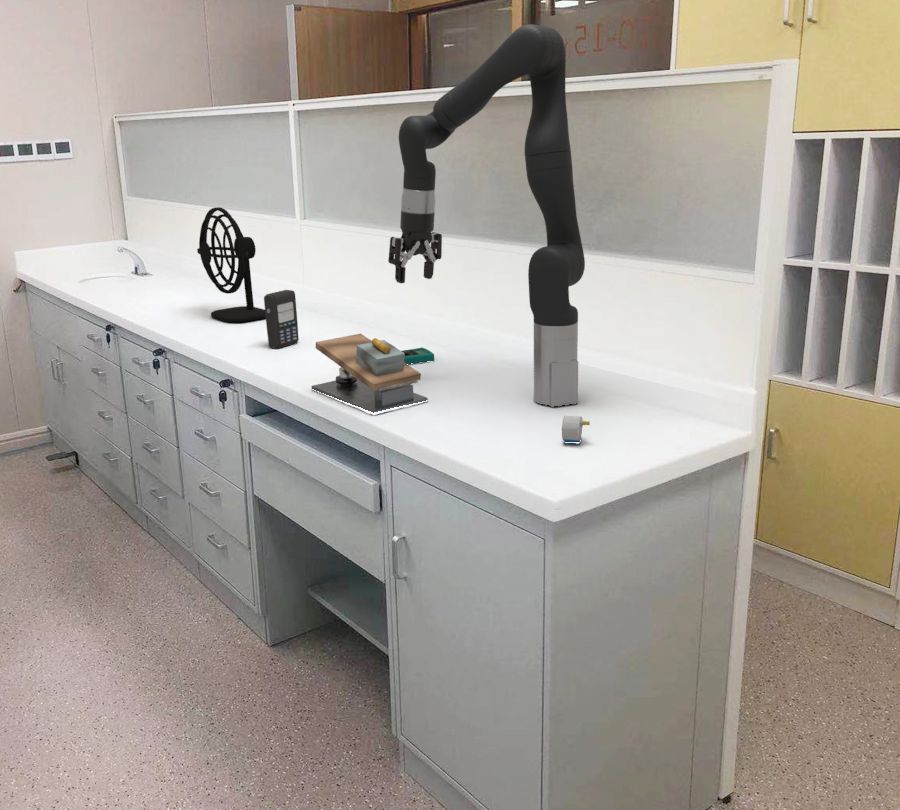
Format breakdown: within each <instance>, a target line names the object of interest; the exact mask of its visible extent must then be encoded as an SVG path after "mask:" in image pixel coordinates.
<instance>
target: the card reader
mask: <svg viewBox="0 0 900 810" xmlns="http://www.w3.org/2000/svg"><path fill="white" fill-rule="evenodd" d="M296 299H297V298H296V292H295V291H294V290H293V289H292V290H291V289H284V290H279V291H275V292H271V293H266V294H265V295H264V297H263V301H264V303H263V304H264V305H263V306H264V310H265V315H266V318H265V323H266V333H267V341H268V347H270V348H271V349H281V348H285V347H288V346H291V345H294V344H297V343H298V342H299V327H298V314H297V300H296Z"/></svg>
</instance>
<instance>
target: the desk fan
mask: <svg viewBox="0 0 900 810" xmlns="http://www.w3.org/2000/svg"><path fill="white" fill-rule="evenodd" d="M217 211H218V212H220V213H222V214H219V215H214V214H215V213H216V212H217ZM222 218H227V220H228V222H229V223H230V224H229V225H226V224H225V222H224V221H223V220H222ZM211 219H214V221H213V223H212V226H211V227H209V224H210V220H211ZM218 223H219V224H220V225H221V227H222V229H223V230H224V231H223V237H222V243H221V240H220V238H219V236H218V233H216V228H217V226H218V225H217V224H218ZM231 227H232V229H233V232H234V234H235V235H234V236H235V239H234V242H233V240H232V239H233V238H232V237H231V234H230V231H229V229H230V228H231ZM208 230H209V231H211V234H210V237H211V238H210V244H211V245H209V243H208ZM199 233H200V234H199V243H198V247H199V248H197V250H196V251H197V254H199V256H200V260H201V262H202V263H201V264H202V266H203V268H204V269H205V271H206V274H207V276H208V278H209V279H210V281H211V282H212V283H213V284H214V286H215V287H216V288H217V289H218V291H219V292H221V293H224V294H234V293H236V292H237V291H238V290H239V288H241V285H242V283H244V293H245V302H246V305H245V306H244V305H243V306H234V307H228V308H222V309H221V308H220V309H215V310H213V311H212V312H210V316H211V317H212V318H214V319H215V320H216V319H217V320H220V321H223V322H226V323H246V322H252V321H257V320H258V321H259V320H262V319H266V315H265V308H260V307H256V306H255V305H254V304H255V303H254V295H253V286H252V277H251V276H252V275H251V264H250V259H253V258H255V255H256V252H257V251H256V245H255V241H254V239H253V238H252V237H250V236H244V234H243V233H242V230H241V229H240V227H239V225H238V223H237V221H236V220H235V219H234V218H233V217H232V215H231V214H230V213H229V212H228V210H227V209H225V208H223V207H219V206H218V207H213V208H210V209H209V210H208V211H207V213H205V217H204V220H203V222H202V224H201V227H200V231H199ZM226 238H227V241H228V245H229V247H227V246H226ZM215 240H216V241H217V244H218V246H216V241H215ZM217 250H218V251H219V253H218V254H217V252H216V251H217ZM227 251H229V252H230V254H228V253H227ZM212 258H213V261H214V264H215V265H214V266H215V267H216V269H217V273H216V274H215V273H214V270H213V269H212V265H211V263H212ZM218 258H220V264H219V261H218ZM224 259H225V261H226V263H227V265H228V267H229V269H230V273H229V277H228V278H227V277H226V276H225V274H224V273H223V267H224ZM229 259H230V260H231V261H229ZM236 259H237V260H238V261H237V263H238V264H237V270H236ZM235 274H236V276H235ZM219 276H220V277H221V278H222V281H224V282H225V283H224V284H221V283H220V282H219V281H218V279H217V277H219ZM234 276H235V280H234V282H232V281H233V279H234ZM228 286H231V287H230V288H229V289H226V287H228Z"/></svg>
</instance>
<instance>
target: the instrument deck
mask: <svg viewBox="0 0 900 810" xmlns="http://www.w3.org/2000/svg"><path fill="white" fill-rule="evenodd" d="M315 349H316V350H317V351H319V352H320V353H321V354H323V356H325V357H327V358H328V359H330V361H332V362H333V363H335V364H337V365H338V367H339V368H341V367H342V368H343V369H344V370H346V371H347V372H349V373H350V374H351V375H353V376H354V377H355V378H357V379H358V380H359V381H361V382H362V383H363V384H365V385H366V386H368V387H369V388H370V389H372V390H373V391H376V390H377V392H380V391H384V390H388V389H392V388H397V387H401V386H405V385H409V384H411V385H413V384H416V383H419V381H421V379H422V378H421V377H422V373H421V372H419V371H418V370H416V369H415V368H413V367H411V365H407V364H406V363H404V358H405V353H403V352H402V351H403V350H400V349H398V348H397V347H396V346H394V345H393V344H391V343H390V342H388V341H387V340H385V339H382V340H380V339H379V338H377V337H374V338H372V340H371V339H370V338H368V337H367V336H365V335H364V334H362V333H357V334H350V335H346V336H345V335H344V336H342V337H335V338H330V339H326V340H321V341H319V340H318V341H315Z"/></svg>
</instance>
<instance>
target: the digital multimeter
mask: <svg viewBox="0 0 900 810" xmlns="http://www.w3.org/2000/svg"><path fill="white" fill-rule="evenodd" d="M401 351H402V352H403V353H405V358H404V363H406V364H411V363H419V362H427V361H433V362H435V353H433V352H432V351H430V350H429V349H427V348H425V347H416V348H411V349H403V350H401ZM427 363H428V362H427ZM419 364H420V363H419Z"/></svg>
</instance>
